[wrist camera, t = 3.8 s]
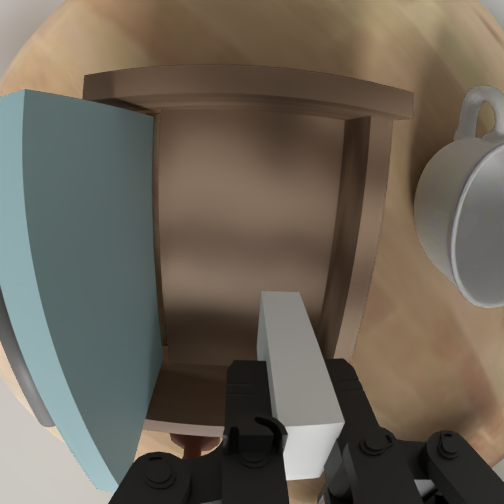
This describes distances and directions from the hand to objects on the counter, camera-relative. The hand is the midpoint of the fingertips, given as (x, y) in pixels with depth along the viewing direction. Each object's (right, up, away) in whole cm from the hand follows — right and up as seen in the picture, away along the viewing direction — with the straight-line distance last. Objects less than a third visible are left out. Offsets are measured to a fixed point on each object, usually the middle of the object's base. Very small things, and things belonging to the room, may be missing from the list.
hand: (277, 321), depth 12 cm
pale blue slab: (-9, +3, +7) cm, 11 cm away
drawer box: (-1, +3, +9) cm, 9 cm away
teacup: (+14, +8, +8) cm, 18 cm away
